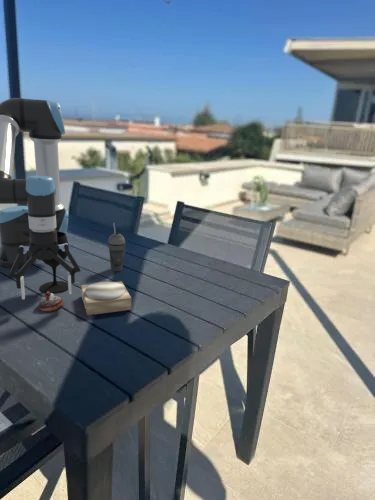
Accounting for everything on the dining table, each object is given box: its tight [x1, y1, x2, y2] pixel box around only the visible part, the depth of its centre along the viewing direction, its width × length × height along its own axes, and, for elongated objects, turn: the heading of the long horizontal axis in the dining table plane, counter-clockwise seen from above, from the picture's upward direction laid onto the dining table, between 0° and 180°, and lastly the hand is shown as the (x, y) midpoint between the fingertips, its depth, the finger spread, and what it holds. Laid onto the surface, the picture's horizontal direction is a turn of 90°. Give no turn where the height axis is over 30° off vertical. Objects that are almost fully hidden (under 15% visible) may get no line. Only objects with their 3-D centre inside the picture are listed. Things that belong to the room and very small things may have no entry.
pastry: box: [38, 292, 64, 313], centre depth 113 cm, size 8×8×5 cm
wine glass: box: [39, 231, 70, 295], centre depth 124 cm, size 10×10×20 cm
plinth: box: [80, 281, 132, 316], centre depth 117 cm, size 14×14×5 cm
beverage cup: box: [107, 222, 126, 272], centre depth 145 cm, size 7×7×20 cm
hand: (47, 295), depth 110 cm, fingers open, 13 cm apart
